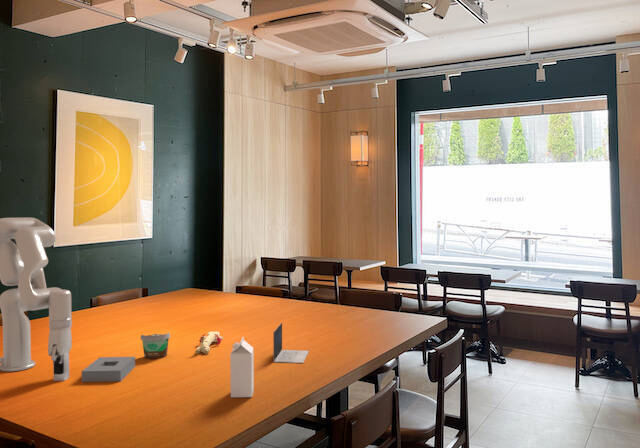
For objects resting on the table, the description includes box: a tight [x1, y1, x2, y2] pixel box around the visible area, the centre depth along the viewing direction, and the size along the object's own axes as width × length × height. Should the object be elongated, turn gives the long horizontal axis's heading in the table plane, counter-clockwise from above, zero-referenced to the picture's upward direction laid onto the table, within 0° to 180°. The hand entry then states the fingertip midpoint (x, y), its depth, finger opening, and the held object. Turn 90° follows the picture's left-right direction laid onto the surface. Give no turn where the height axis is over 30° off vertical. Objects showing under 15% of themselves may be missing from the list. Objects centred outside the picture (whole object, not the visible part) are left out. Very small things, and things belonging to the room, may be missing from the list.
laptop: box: [272, 322, 310, 364], centre depth 224 cm, size 18×12×13 cm
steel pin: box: [52, 351, 70, 382], centre depth 195 cm, size 4×4×11 cm
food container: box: [140, 332, 171, 360], centre depth 223 cm, size 12×6×10 cm, turn 105°
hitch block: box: [81, 356, 136, 383], centre depth 201 cm, size 14×18×4 cm
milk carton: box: [229, 336, 255, 398], centre depth 179 cm, size 7×7×19 cm
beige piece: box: [194, 331, 224, 355], centre depth 240 cm, size 10×9×25 cm
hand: (61, 371), depth 195 cm, fingers closed on steel pin, 4 cm apart
